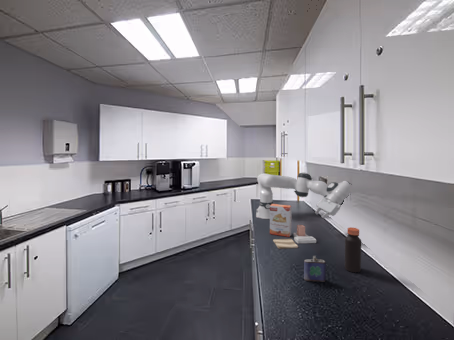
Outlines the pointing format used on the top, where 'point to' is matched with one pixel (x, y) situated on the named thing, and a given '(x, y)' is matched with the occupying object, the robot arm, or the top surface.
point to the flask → (314, 269)
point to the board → (285, 243)
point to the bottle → (353, 250)
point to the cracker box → (280, 220)
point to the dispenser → (304, 239)
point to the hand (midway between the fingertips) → (319, 215)
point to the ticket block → (300, 230)
